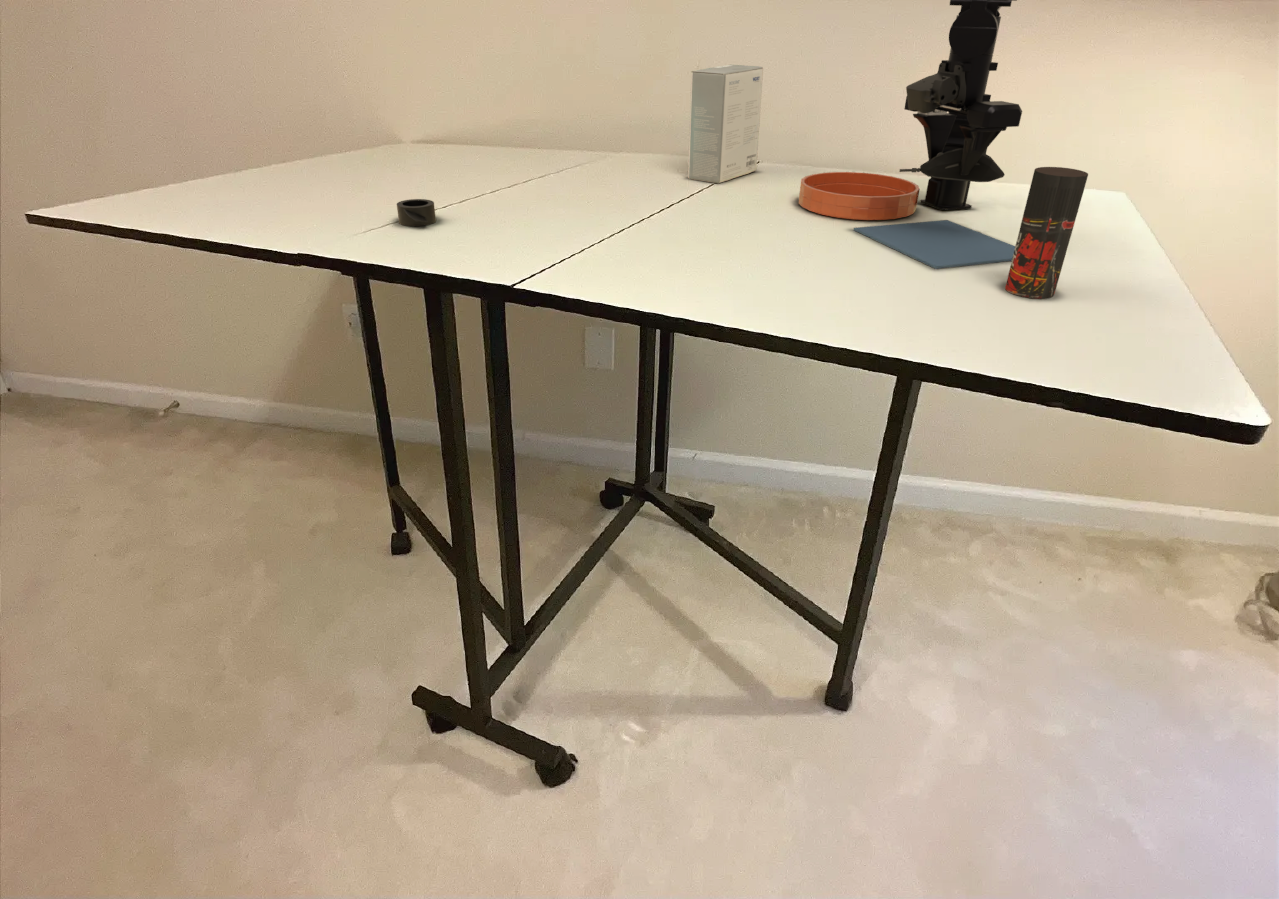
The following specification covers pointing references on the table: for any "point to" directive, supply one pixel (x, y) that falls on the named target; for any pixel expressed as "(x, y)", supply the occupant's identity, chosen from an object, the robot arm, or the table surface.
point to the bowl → (858, 195)
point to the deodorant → (1045, 231)
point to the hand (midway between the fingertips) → (947, 169)
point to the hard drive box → (724, 122)
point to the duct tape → (416, 212)
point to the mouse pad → (941, 243)
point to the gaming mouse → (959, 168)
